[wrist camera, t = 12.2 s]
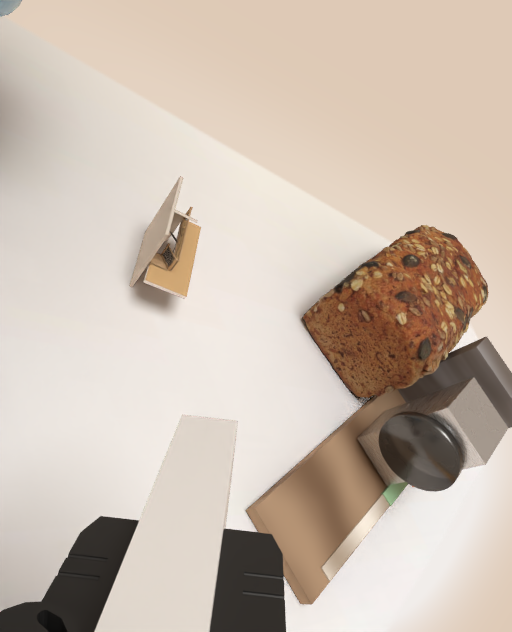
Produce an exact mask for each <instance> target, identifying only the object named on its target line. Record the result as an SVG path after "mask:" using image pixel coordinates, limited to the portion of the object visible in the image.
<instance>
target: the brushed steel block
mask: <svg viewBox="0 0 512 632" xmlns="http://www.w3.org/2000/svg"><path fill="white" fill-rule="evenodd" d="M507 429H508V427H507V425H506V424H505V422H504V421H503V419H502V418H501V416H500V415H499V413H498V412H497V410H496V409H495V407H494V406H493V404H492V403H491V402H490V400H489V399H488V397H487V396H486V394H485V393H484V391H483V390H482V388H481V387H480V385H479V384H478V382H477V381H476V379H475V378H474V377H473V378H470V379H467V380H465V381H462V382H459V383H457V384H454V385H451V386H449V387H446V388H444V389H441V390H438V391H436V392H433V393H430V394H428V395H425V396H422V397H420V398H417V399H414V400H412V401H409V402H407V403H404V404H401V405H399V406H396V407H393V408H391V409H388V410H386V411H385V412H384V413H383V414H382V415H381V416H380V417H379V418H378V419H377V420H375V421H374V422H373V423H372V424H371V425H370V426H369V427H368V428H367V429H366V430H365V431H364V432H363V433H362V434H361V435H360V436H359V437H358V438H357V439H358V441H359V443H360V444H361V446H362V447H363V449H364V450H365V452H366V454H367V455H368V457H369V458H370V460H371V462H372V463H373V465H374V466H375V468H376V469H377V471H378V473H379V474H380V476H381V477H382V479H383V481H384V482H385V484H386V485H387V486H388V485H393V484H397V483H402V482H407V483H408V484H410V485H412V487H416V488H419V489H422V490H426V491H441V490H444V489H447V488H449V487H450V486H451V485H452V484H453V483H454V482H455V481H456V479H457V478H458V476H459V475H460V473H461V470H462V469H467V468H472V467H476V466H481V465H486V463H487V461H488V460H489V458H490V457H491V455H492V453H493V452H494V450H495V449H496V447H497V445H498V444H499V442H500V440H501V439H502V437H503V436H504V434H505V432H506V431H507Z"/></svg>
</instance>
